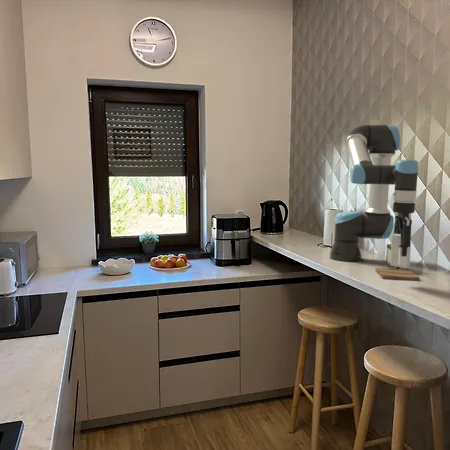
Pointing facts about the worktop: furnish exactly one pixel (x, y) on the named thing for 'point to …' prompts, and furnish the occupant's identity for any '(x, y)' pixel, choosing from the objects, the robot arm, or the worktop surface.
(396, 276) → the board
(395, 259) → the skincare box
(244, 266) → the worktop surface
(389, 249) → the food container
